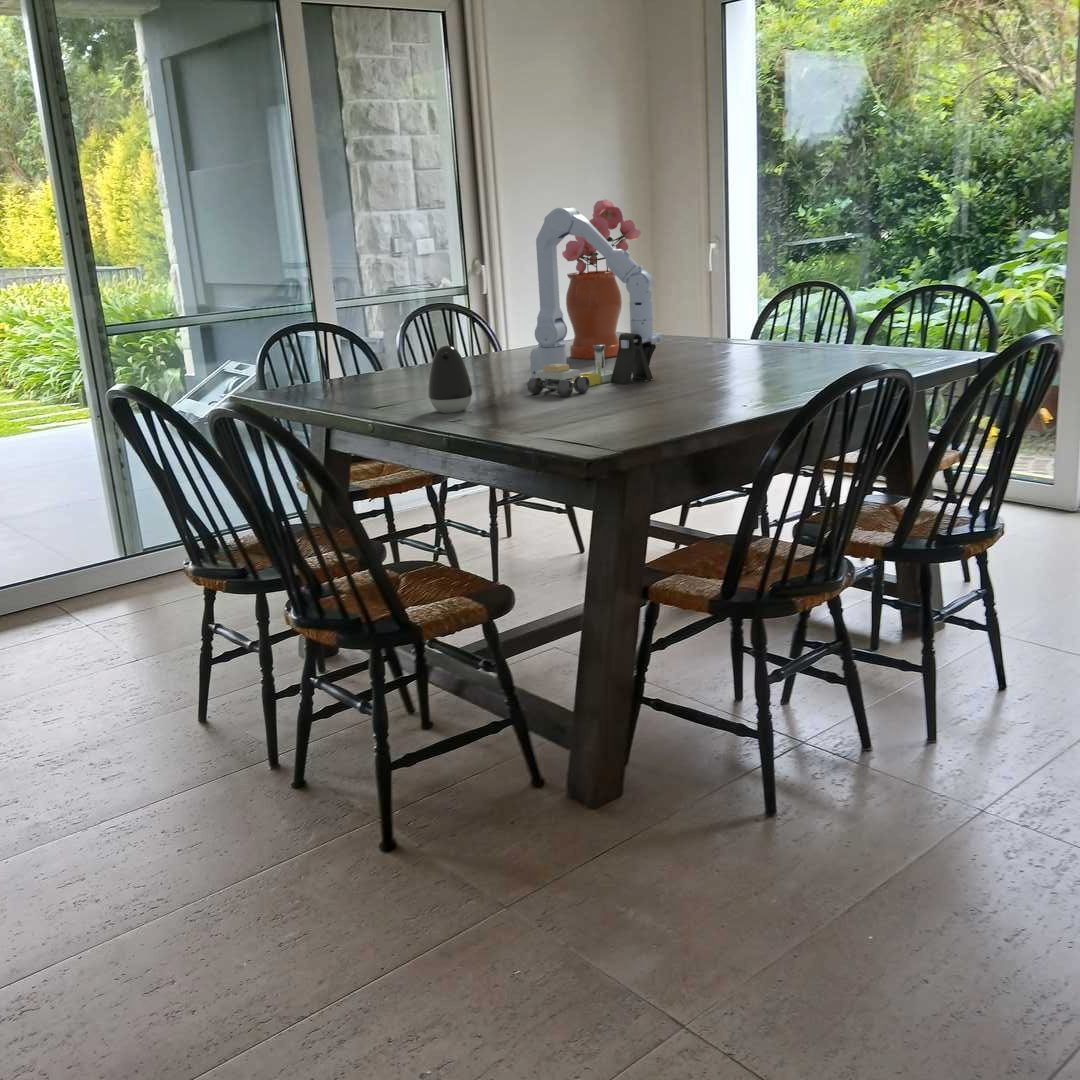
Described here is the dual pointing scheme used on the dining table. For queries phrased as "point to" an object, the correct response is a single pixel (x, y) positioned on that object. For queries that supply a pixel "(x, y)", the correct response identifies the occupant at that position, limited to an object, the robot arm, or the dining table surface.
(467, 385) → the egg shaped device
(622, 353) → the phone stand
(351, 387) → the dining table surface
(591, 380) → the pin socket
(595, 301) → the potted flower
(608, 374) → the tray
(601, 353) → the stop pin
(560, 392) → the toy rover
